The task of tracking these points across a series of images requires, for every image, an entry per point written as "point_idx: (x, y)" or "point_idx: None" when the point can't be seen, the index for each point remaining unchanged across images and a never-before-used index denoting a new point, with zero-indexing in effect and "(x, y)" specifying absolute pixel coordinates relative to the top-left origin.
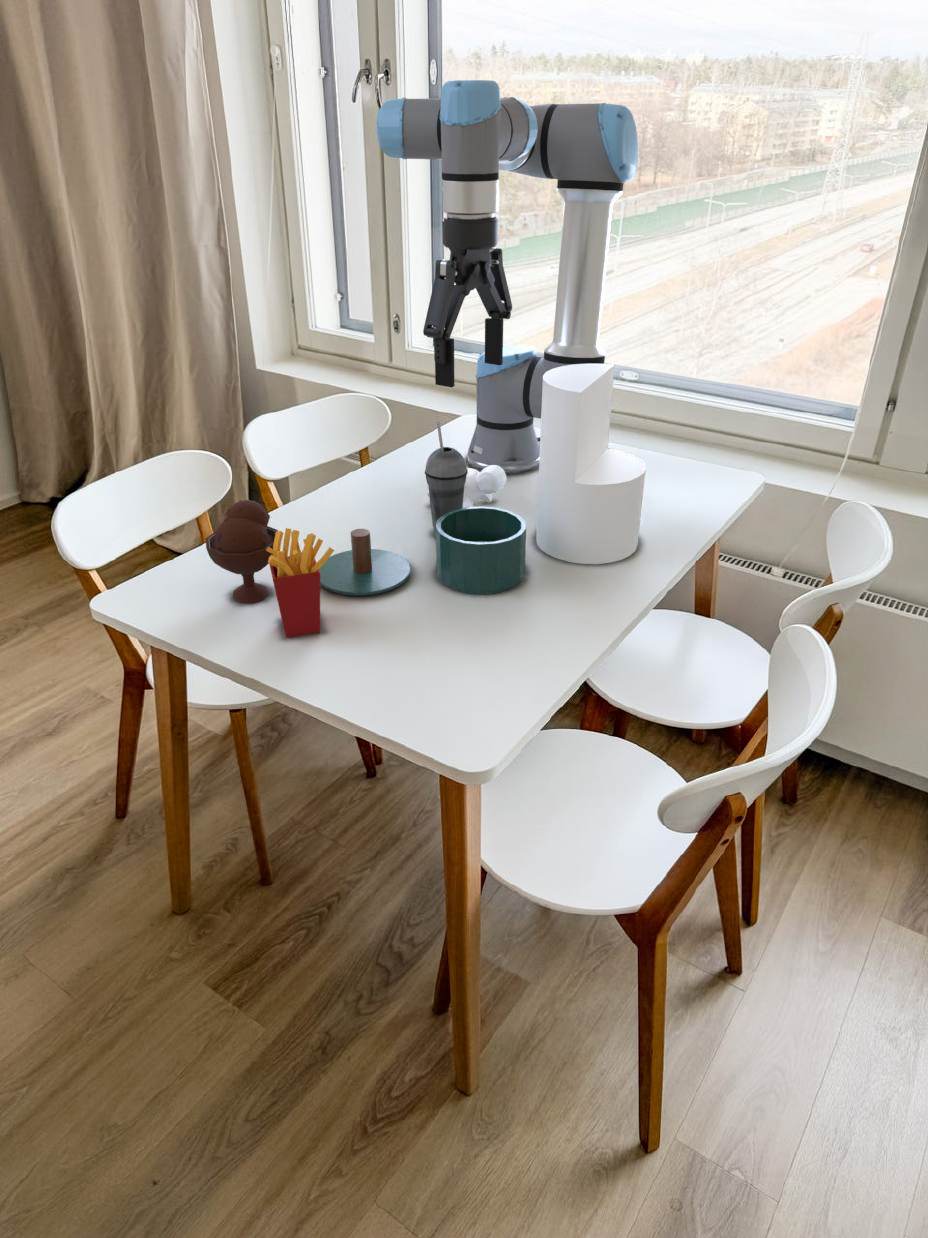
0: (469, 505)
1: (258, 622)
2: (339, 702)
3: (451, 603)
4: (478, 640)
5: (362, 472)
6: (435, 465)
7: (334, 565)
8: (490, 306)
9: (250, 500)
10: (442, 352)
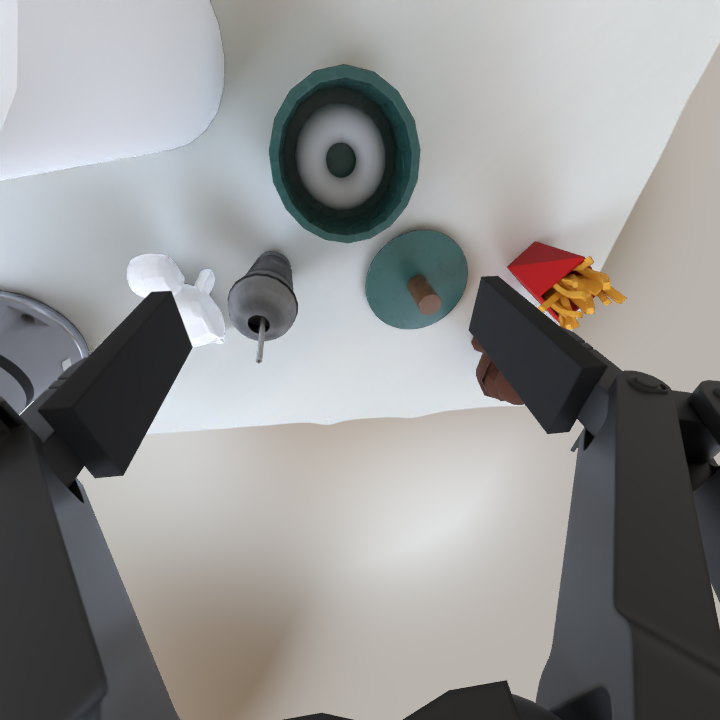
0: (206, 280)
1: (529, 301)
2: (659, 130)
3: (431, 145)
4: (508, 40)
5: (215, 428)
6: (291, 314)
7: (421, 313)
8: (82, 519)
9: (519, 397)
10: (596, 350)
